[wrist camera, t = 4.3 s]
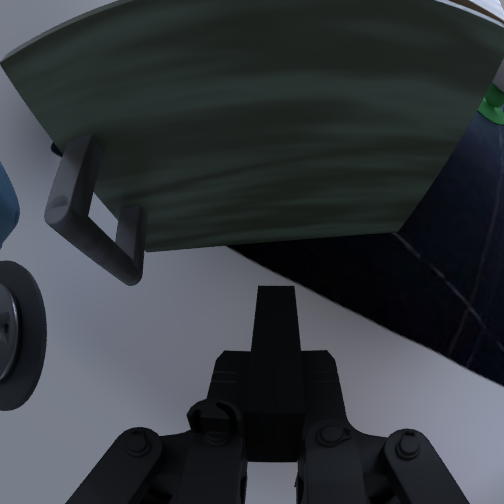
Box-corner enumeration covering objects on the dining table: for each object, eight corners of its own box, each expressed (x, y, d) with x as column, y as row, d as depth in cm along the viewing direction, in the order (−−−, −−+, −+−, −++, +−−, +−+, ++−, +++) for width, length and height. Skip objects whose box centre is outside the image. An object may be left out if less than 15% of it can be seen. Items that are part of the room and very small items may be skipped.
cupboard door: (410, 285, 27) (583, 109, 5) (143, 308, 28) (-62, 151, 6) (395, 223, 30) (504, 24, 8) (147, 243, 31) (7, 52, 9)
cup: (521, 145, 34) (561, 87, 20) (464, 115, 37) (498, 44, 22) (505, 102, 39) (533, 49, 25) (453, 75, 42) (475, 15, 27)
